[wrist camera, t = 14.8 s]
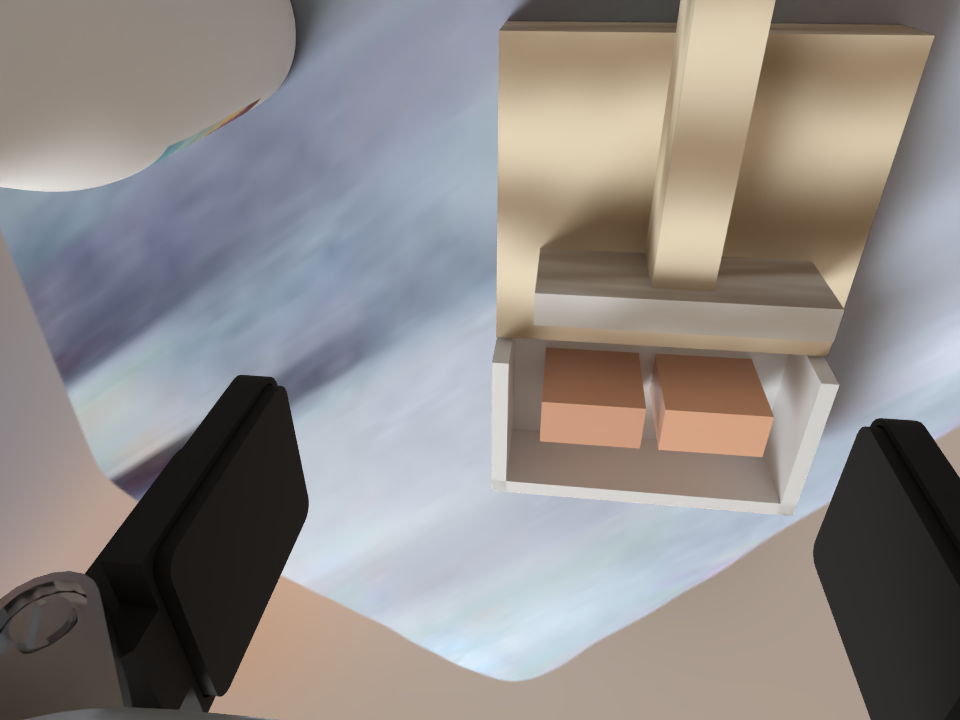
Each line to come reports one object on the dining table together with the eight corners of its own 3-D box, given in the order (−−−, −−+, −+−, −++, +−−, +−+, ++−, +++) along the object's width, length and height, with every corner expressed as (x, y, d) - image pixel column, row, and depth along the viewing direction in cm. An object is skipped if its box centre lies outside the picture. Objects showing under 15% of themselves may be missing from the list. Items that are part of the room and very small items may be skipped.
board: (506, 20, 29) (499, 30, 26) (901, 24, 27) (935, 35, 24) (502, 308, 36) (496, 336, 34) (809, 325, 35) (827, 356, 32)
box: (502, 312, 36) (492, 362, 32) (808, 329, 35) (839, 384, 31) (500, 433, 41) (491, 490, 37) (770, 453, 39) (792, 515, 35)
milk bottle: (150, -125, 27) (-508, -189, 11) (324, -24, 29) (-27, 56, 12) (119, 56, 32) (-390, 210, 15) (273, 137, 33) (-41, 362, 16)
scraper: (553, -27, 25) (548, -17, 21) (894, -26, 24) (953, -15, 20) (538, 277, 32) (533, 325, 28) (802, 290, 30) (833, 342, 27)
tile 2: (541, 401, 33) (539, 441, 34) (646, 408, 32) (639, 448, 33) (546, 347, 37) (544, 384, 38) (638, 352, 36) (633, 390, 38)
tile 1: (665, 409, 32) (658, 449, 33) (774, 417, 31) (762, 457, 33) (655, 353, 36) (649, 391, 38) (751, 359, 36) (741, 396, 37)
